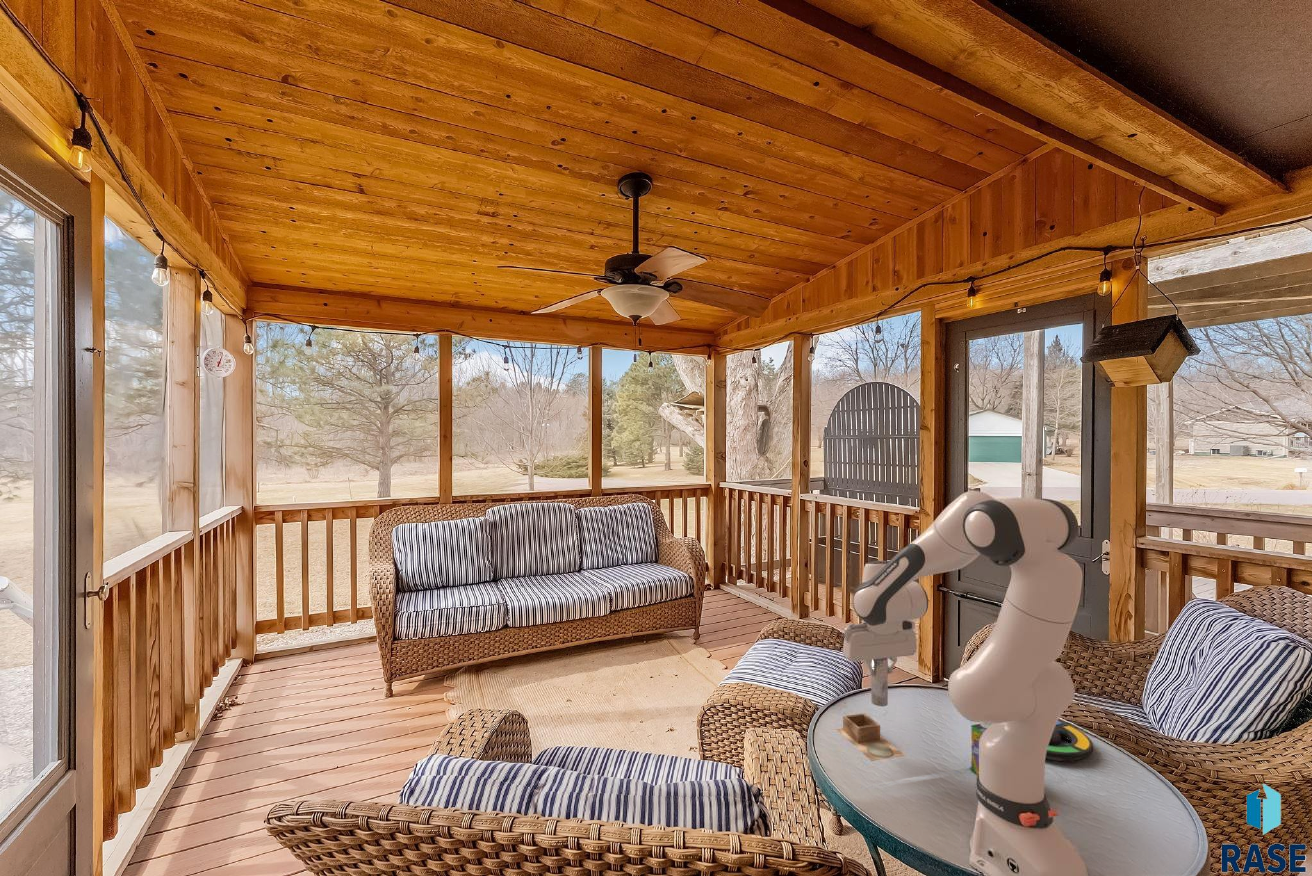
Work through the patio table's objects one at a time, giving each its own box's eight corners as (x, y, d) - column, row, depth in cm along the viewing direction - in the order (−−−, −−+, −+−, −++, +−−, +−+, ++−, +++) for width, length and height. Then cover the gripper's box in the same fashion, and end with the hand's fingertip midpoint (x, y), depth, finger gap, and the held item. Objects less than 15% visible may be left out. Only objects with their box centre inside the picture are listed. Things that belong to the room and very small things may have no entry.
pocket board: (904, 758, 147) (904, 739, 147) (871, 764, 144) (871, 744, 144) (867, 728, 162) (867, 710, 162) (836, 732, 160) (836, 715, 160)
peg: (890, 705, 148) (891, 659, 148) (877, 707, 147) (877, 660, 147) (881, 698, 152) (881, 653, 152) (868, 700, 151) (868, 655, 151)
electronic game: (1113, 755, 149) (1113, 737, 149) (1056, 774, 140) (1056, 755, 140) (1027, 716, 170) (1027, 700, 170) (973, 731, 162) (973, 714, 162)
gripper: (852, 628, 143) (851, 683, 143) (920, 622, 149) (920, 674, 149) (838, 620, 150) (838, 673, 150) (904, 614, 155) (904, 665, 155)
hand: (879, 673), depth 149 cm, fingers closed on peg, 4 cm apart
